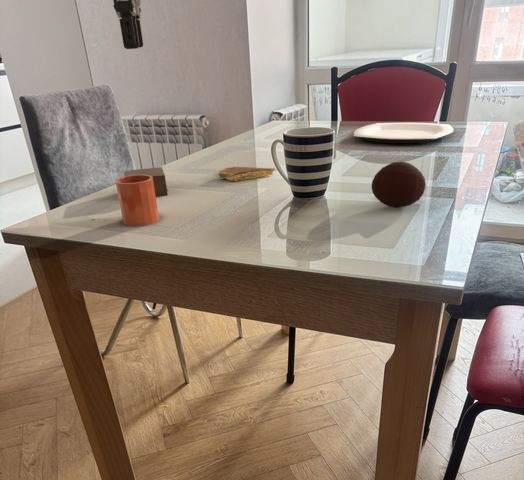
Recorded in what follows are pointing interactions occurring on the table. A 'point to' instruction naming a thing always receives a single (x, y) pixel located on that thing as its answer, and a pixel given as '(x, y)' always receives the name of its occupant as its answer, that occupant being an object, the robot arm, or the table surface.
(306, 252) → the table surface
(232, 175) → the cake slice
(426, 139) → the plate
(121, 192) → the cup
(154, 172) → the block
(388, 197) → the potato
